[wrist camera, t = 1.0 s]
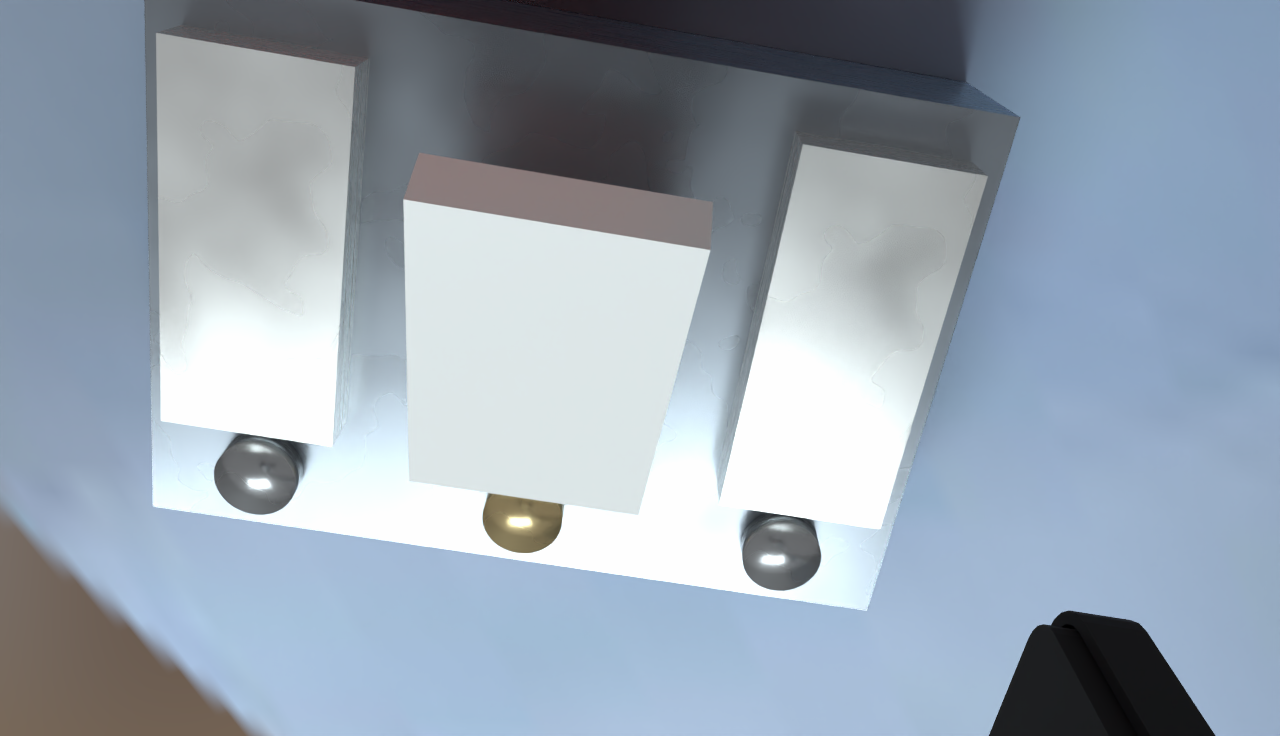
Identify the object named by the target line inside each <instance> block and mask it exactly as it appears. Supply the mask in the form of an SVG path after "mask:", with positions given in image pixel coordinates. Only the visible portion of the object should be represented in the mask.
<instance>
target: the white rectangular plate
mask: <svg viewBox="0 0 1280 736" xmlns="http://www.w3.org/2000/svg"><path fill="white" fill-rule="evenodd" d="M403 207H404V256H405V305H406V354H407V403H408V452H409V481H412V482H419V483H425V484H432V485H439V486H445V487H452V488H459V489H465V490H472V491H479V492H485V493H492V494H499V495H506V496H512V497H519V498H526V499H532V500H539V501H546V502H552V503H559V504H566V505H572V506H579V507H586V508H593V509H599V510H606V511H613V512H619V513H626V514H633V515H639V511H640V507H641V504H642V500H643V496H644V493H645V489H646V485H647V482H648V478H649V474H650V471H651V467H652V463H653V460H654V456H655V452H656V449H657V445H658V441H659V438H660V434H661V430H662V426H663V423H664V419H665V415H666V412H667V408H668V404H669V401H670V397H671V393H672V390H673V386H674V382H675V379H676V375H677V371H678V368H679V364H680V360H681V357H682V353H683V349H684V346H685V342H686V338H687V335H688V331H689V327H690V324H691V320H692V316H693V313H694V309H695V305H696V302H697V298H698V294H699V291H700V287H701V283H702V279H703V276H704V272H705V268H706V265H707V261H708V257H709V254H710V250H711V231H712V212H713V202H710V201H704V200H698V199H692V198H686V197H680V196H674V195H668V194H662V193H656V192H650V191H644V190H638V189H632V188H627V187H621V186H615V185H609V184H603V183H597V182H591V181H585V180H579V179H573V178H567V177H561V176H555V175H549V174H543V173H537V172H531V171H525V170H519V169H513V168H507V167H502V166H496V165H490V164H484V163H478V162H472V161H466V160H460V159H454V158H448V157H442V156H436V155H430V154H424V153H419V155H418V158H417V161H416V163H415V166H414V169H413V172H412V175H411V178H410V181H409V184H408V187H407V190H406V193H405V196H404V199H403Z"/></svg>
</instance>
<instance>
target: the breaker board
mask: <svg viewBox="0 0 1280 736" xmlns="http://www.w3.org/2000/svg"><path fill="white" fill-rule="evenodd" d="M144 2H145V62H146V122H147V182H148V242H149V302H150V362H151V422H152V482H153V507H160V508H167V509H173V510H180V511H187V512H194V513H201V514H208V515H215V516H221V517H228V518H235V519H242V520H249V521H256V522H263V523H269V524H276V525H283V526H290V527H297V528H304V529H310V530H317V531H324V532H331V533H338V534H345V535H352V536H358V537H365V538H372V539H379V540H386V541H393V542H400V543H406V544H413V545H420V546H427V547H434V548H441V549H447V550H454V551H461V552H468V553H475V554H482V555H489V556H495V557H502V558H509V559H516V560H523V561H530V562H537V563H543V564H550V565H557V566H564V567H571V568H578V569H584V570H591V571H598V572H605V573H612V574H619V575H626V576H632V577H639V578H646V579H653V580H660V581H667V582H674V583H680V584H687V585H694V586H701V587H708V588H715V589H721V590H728V591H735V592H742V593H749V594H756V595H763V596H769V597H776V598H783V599H790V600H797V601H804V602H811V603H817V604H824V605H831V606H838V607H845V608H852V609H859V610H865V611H867V609H868V605H869V602H870V599H871V596H872V593H873V589H874V586H875V583H876V580H877V577H878V573H879V570H880V567H881V564H882V560H883V557H884V554H885V551H886V548H887V544H888V541H889V538H890V535H891V532H892V528H893V525H894V522H895V519H896V515H897V512H898V509H899V506H900V503H901V499H902V496H903V493H904V490H905V487H906V483H907V480H908V477H909V474H910V470H911V467H912V464H913V461H914V458H915V454H916V451H917V448H918V445H919V441H920V438H921V435H922V432H923V429H924V425H925V422H926V419H927V416H928V413H929V409H930V406H931V403H932V400H933V396H934V393H935V390H936V387H937V384H938V380H939V377H940V374H941V371H942V368H943V364H944V361H945V358H946V355H947V351H948V348H949V345H950V342H951V339H952V335H953V332H954V329H955V326H956V323H957V319H958V316H959V313H960V310H961V306H962V303H963V300H964V297H965V294H966V290H967V287H968V284H969V281H970V278H971V274H972V271H973V268H974V265H975V261H976V258H977V255H978V252H979V249H980V245H981V242H982V239H983V236H984V233H985V229H986V226H987V223H988V220H989V216H990V213H991V210H992V207H993V204H994V200H995V197H996V194H997V191H998V187H999V184H1000V181H1001V178H1002V175H1003V171H1004V168H1005V165H1006V162H1007V159H1008V155H1009V152H1010V149H1011V146H1012V142H1013V139H1014V136H1015V133H1016V130H1017V126H1018V123H1019V120H1020V117H1019V116H1017V115H1016V114H1014V113H1013V112H1011V111H1010V110H1008V109H1007V108H1005V107H1003V106H1002V105H1000V104H999V103H997V102H996V101H994V100H993V99H991V98H990V97H988V96H987V95H985V94H983V93H982V92H980V91H979V90H977V89H976V88H974V87H973V86H971V85H970V84H968V83H967V82H961V81H955V80H950V79H944V78H938V77H933V76H927V75H922V74H916V73H910V72H905V71H899V70H893V69H888V68H882V67H876V66H871V65H865V64H859V63H854V62H848V61H843V60H837V59H831V58H826V57H820V56H814V55H809V54H803V53H797V52H792V51H786V50H781V49H775V48H769V47H764V46H758V45H752V44H747V43H741V42H735V41H730V40H724V39H719V38H713V37H707V36H702V35H696V34H690V33H685V32H679V31H673V30H668V29H662V28H657V27H651V26H645V25H640V24H634V23H628V22H623V21H617V20H611V19H606V18H600V17H595V16H589V15H583V14H578V13H572V12H566V11H561V10H555V9H549V8H544V7H538V6H533V5H527V4H521V3H516V2H510V1H504V0H144ZM419 153H424V154H430V155H436V156H442V157H448V158H454V159H460V160H466V161H472V162H478V163H484V164H490V165H496V166H502V167H507V168H513V169H519V170H525V171H531V172H537V173H543V174H549V175H555V176H561V177H567V178H573V179H579V180H585V181H591V182H597V183H603V184H609V185H615V186H621V187H627V188H632V189H638V190H644V191H650V192H656V193H662V194H668V195H674V196H680V197H686V198H692V199H698V200H704V201H710V202H713V212H712V231H711V250H710V254H709V257H708V261H707V265H706V268H705V272H704V276H703V279H702V283H701V287H700V291H699V294H698V298H697V302H696V305H695V309H694V313H693V316H692V320H691V324H690V327H689V331H688V335H687V338H686V342H685V346H684V349H683V353H682V357H681V360H680V364H679V368H678V371H677V375H676V379H675V382H674V386H673V390H672V393H671V397H670V401H669V404H668V408H667V412H666V415H665V419H664V423H663V426H662V430H661V434H660V438H659V441H658V445H657V449H656V452H655V456H654V460H653V463H652V467H651V471H650V474H649V478H648V482H647V485H646V489H645V493H644V496H643V500H642V504H641V507H640V511H639V515H633V514H626V513H619V512H613V511H606V510H599V509H593V508H586V507H579V506H572V505H566V504H559V503H552V502H546V501H539V500H532V499H526V498H519V497H512V496H506V495H499V494H492V493H485V492H479V491H472V490H465V489H459V488H452V487H445V486H439V485H432V484H425V483H419V482H412V481H409V452H408V403H407V354H406V305H405V256H404V207H403V199H404V196H405V193H406V190H407V187H408V184H409V181H410V178H411V175H412V172H413V169H414V166H415V163H416V161H417V158H418V155H419Z"/></svg>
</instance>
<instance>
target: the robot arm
mask: <svg viewBox="0 0 1280 736" xmlns="http://www.w3.org/2000/svg"><path fill="white" fill-rule="evenodd" d="M989 736H1215V734H1214V733H1213V731H1212V730H1211V728H1210V727H1209V725H1208V724H1207V722H1206V721H1205V719H1204V718H1203V716H1202V715H1201V713H1200V712H1199V710H1198V709H1197V707H1196V706H1195V704H1194V703H1193V701H1192V700H1191V698H1190V697H1189V695H1188V694H1187V692H1186V690H1185V689H1184V687H1183V686H1182V684H1181V683H1180V681H1179V680H1178V678H1177V677H1176V675H1175V674H1174V672H1173V671H1172V669H1171V668H1170V666H1169V665H1168V663H1167V662H1166V660H1165V659H1164V657H1163V656H1162V654H1161V653H1160V651H1159V650H1158V648H1157V647H1156V645H1155V644H1154V642H1153V640H1152V639H1151V637H1150V636H1149V634H1148V633H1147V631H1146V630H1145V629H1144V628H1143V627H1142V626H1141V625H1140V624H1139V623H1137V622H1134V621H1131V620H1126V619H1120V618H1113V617H1107V616H1100V615H1094V614H1088V613H1081V612H1075V611H1066V612H1062V613H1061V614H1059V615H1058V616H1057V617H1056V618H1055V619H1054V621H1053V623H1052V624H1051V626H1050V625H1044V624H1043V625H1039V626H1037V627H1036V628H1035V629H1034V630H1033V631H1032V633H1031V635H1030V637H1029V639H1028V641H1027V643H1026V646H1025V648H1024V651H1023V653H1022V656H1021V658H1020V661H1019V663H1018V666H1017V668H1016V670H1015V673H1014V675H1013V678H1012V680H1011V683H1010V685H1009V688H1008V690H1007V693H1006V695H1005V697H1004V700H1003V702H1002V705H1001V707H1000V710H999V712H998V715H997V717H996V720H995V722H994V724H993V727H992V729H991V732H990V734H989Z"/></svg>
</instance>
